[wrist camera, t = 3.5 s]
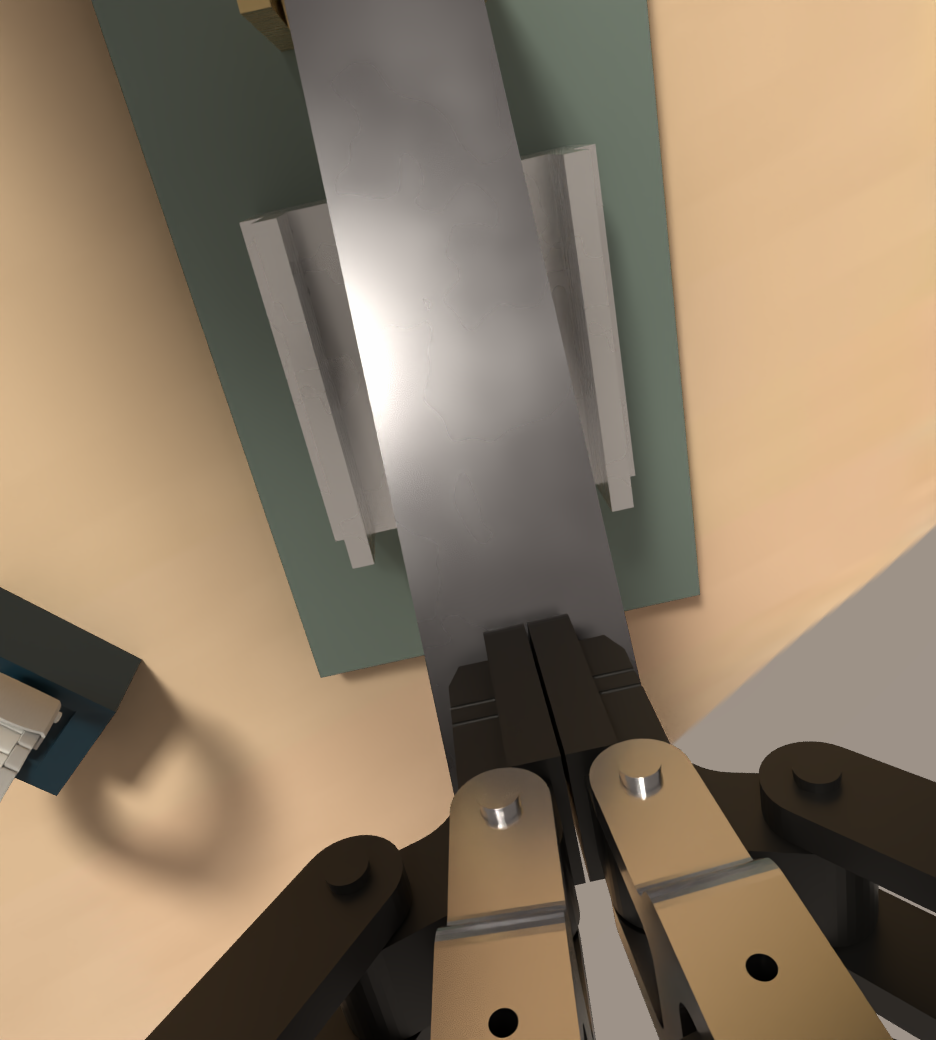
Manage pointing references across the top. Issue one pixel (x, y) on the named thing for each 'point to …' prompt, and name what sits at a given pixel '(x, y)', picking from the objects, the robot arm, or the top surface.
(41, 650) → the watch
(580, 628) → the strap
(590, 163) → the heat sink
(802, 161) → the top surface
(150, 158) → the board
